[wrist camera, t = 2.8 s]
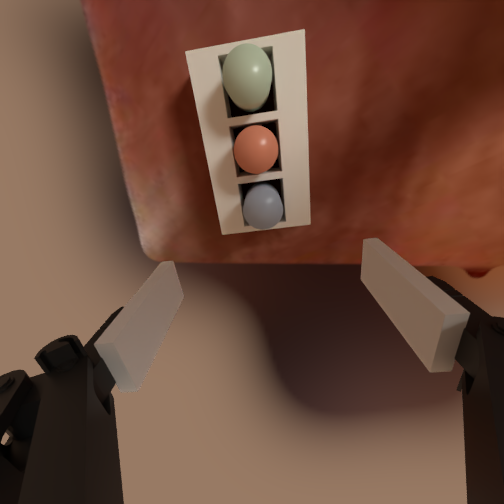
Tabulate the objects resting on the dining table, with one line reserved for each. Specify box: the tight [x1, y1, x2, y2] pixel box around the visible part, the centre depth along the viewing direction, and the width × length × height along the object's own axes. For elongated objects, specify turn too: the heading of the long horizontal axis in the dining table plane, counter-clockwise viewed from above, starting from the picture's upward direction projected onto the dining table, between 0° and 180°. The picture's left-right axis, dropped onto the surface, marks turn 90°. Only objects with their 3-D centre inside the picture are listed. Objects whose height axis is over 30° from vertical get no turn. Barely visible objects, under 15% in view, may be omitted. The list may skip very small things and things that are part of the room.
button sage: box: [222, 43, 272, 112], centre depth 24 cm, size 5×5×6 cm
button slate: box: [243, 182, 283, 230], centre depth 30 cm, size 5×5×6 cm
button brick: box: [234, 125, 278, 174], centre depth 27 cm, size 5×5×6 cm
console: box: [185, 29, 311, 235], centre depth 30 cm, size 20×12×5 cm, turn 8°
